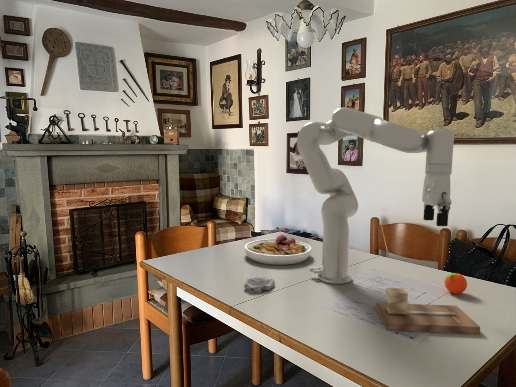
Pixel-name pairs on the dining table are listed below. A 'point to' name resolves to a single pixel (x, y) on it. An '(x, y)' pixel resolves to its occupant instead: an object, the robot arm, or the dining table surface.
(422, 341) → the dining table surface
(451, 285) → the clementine
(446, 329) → the board
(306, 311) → the dining table surface
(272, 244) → the bowl
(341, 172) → the robot arm
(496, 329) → the dining table surface
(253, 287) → the fossil
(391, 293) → the block
